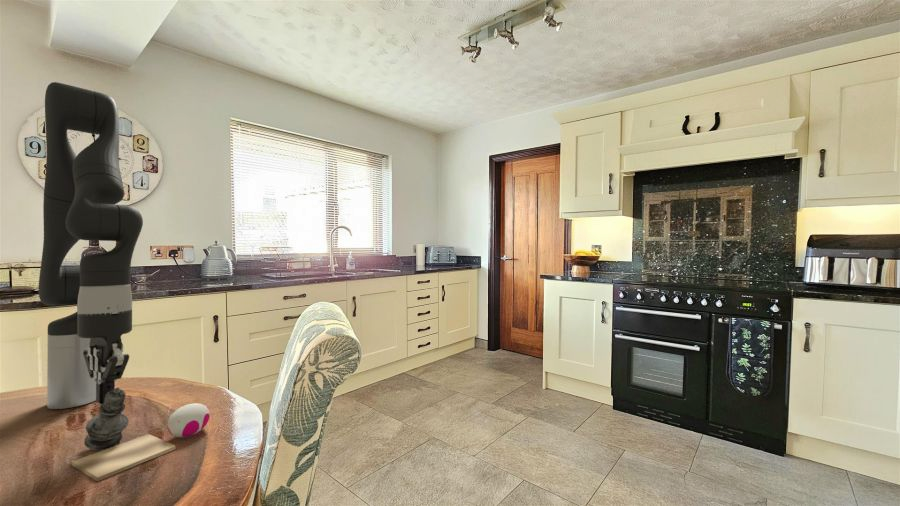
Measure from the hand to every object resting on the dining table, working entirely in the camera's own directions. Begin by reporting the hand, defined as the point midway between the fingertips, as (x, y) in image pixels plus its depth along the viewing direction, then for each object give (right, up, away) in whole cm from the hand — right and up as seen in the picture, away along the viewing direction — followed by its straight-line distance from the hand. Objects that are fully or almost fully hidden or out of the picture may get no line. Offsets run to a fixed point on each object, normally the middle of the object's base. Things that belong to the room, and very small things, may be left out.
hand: (105, 401), depth 69 cm
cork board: (+7, -8, -4) cm, 11 cm away
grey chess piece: (-1, -7, +1) cm, 7 cm away
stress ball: (+13, -9, +5) cm, 16 cm away
